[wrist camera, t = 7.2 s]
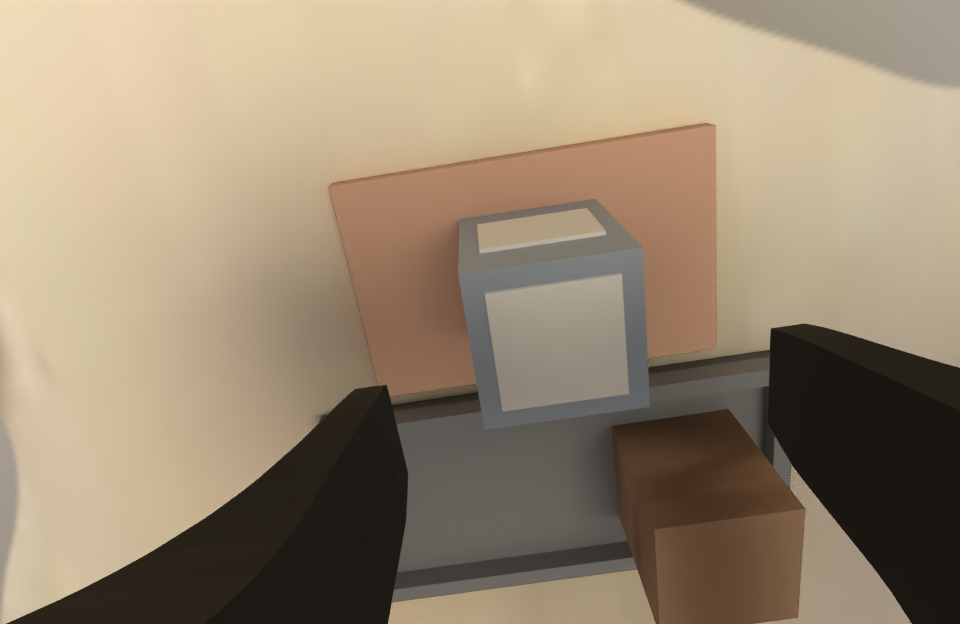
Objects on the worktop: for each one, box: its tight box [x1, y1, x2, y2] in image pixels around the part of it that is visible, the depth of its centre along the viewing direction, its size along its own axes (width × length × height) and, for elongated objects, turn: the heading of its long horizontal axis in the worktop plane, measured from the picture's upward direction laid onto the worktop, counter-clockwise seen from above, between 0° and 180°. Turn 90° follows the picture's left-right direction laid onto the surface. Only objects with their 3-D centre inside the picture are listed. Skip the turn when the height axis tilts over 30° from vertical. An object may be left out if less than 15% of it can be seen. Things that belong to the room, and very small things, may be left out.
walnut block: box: [612, 409, 805, 624], centre depth 19 cm, size 4×4×5 cm
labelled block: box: [458, 199, 650, 430], centre depth 16 cm, size 4×4×5 cm
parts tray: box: [319, 350, 791, 602], centre depth 21 cm, size 16×8×1 cm, turn 99°
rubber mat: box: [329, 123, 716, 396], centre depth 19 cm, size 11×7×1 cm, turn 99°
